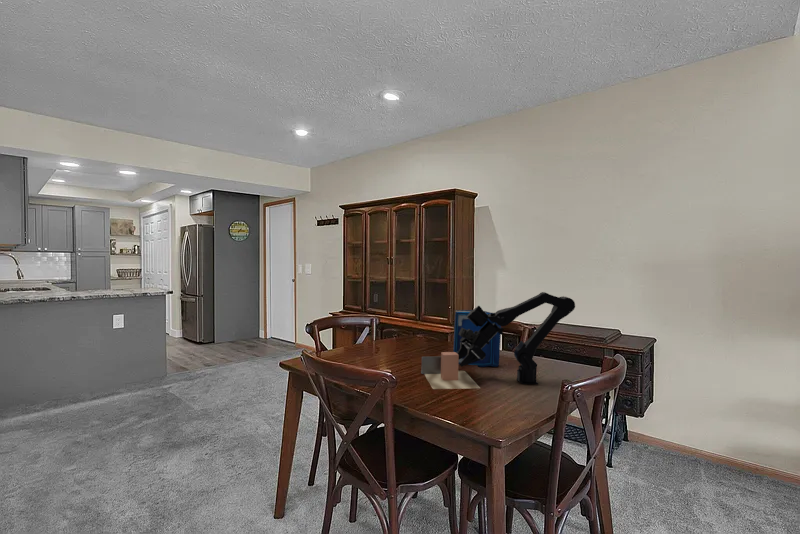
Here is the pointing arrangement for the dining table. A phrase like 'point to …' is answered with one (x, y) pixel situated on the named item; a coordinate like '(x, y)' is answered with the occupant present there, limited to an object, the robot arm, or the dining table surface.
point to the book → (463, 322)
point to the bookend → (431, 365)
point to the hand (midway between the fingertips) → (457, 362)
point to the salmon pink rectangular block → (449, 365)
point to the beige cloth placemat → (451, 381)
